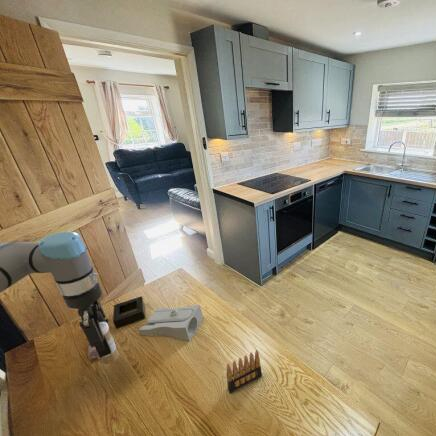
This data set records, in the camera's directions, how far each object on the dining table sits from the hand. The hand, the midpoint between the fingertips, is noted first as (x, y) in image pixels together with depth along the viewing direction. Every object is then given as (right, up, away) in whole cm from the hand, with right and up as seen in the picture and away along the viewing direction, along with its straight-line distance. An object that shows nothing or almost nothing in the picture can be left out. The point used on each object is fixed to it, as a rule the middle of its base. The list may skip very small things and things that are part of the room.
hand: (106, 347), depth 72 cm
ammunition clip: (+42, -12, +2) cm, 44 cm away
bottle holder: (-10, -1, +26) cm, 28 cm away
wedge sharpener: (+10, -3, +21) cm, 24 cm away
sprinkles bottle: (0, -4, +2) cm, 5 cm away
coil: (-14, -6, +15) cm, 21 cm away
